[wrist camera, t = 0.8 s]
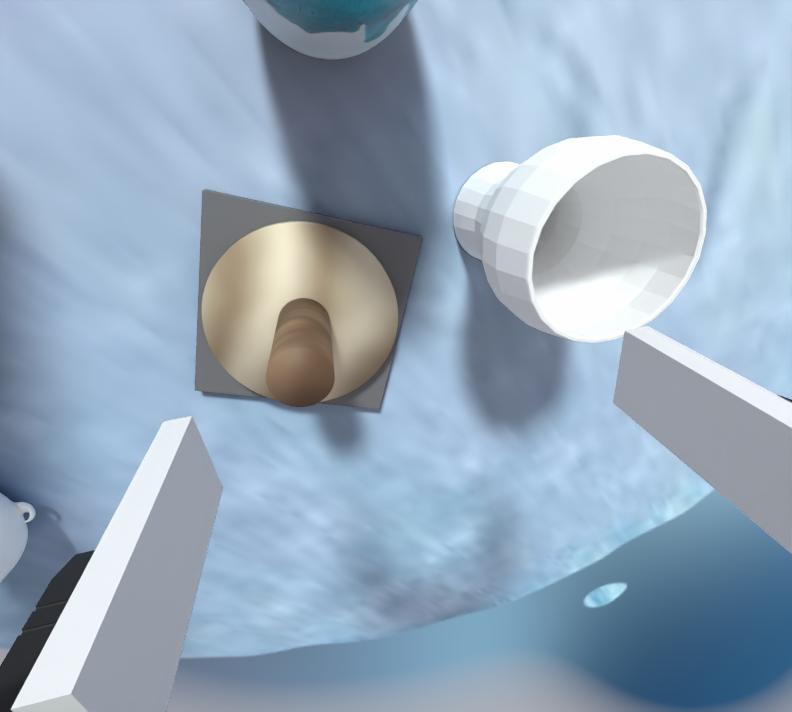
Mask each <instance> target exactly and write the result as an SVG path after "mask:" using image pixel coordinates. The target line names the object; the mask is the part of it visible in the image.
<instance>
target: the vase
mask: <svg viewBox="0 0 792 712" xmlns="http://www.w3.org/2000/svg"><path fill="white" fill-rule="evenodd" d="M243 1H244V3H245V4H246V5H247V7H248V8H249V9H250V11H251V12H252V13H253V15H254V16H255V17H256V18H257V19H258V21H259V22H260V23H261V24H262V25H263V26H264V27H265V28H266V29H267V30H268V31H269V32H270V33H271V34H272V35H274V36H275V37H276V38H277V39H279V40H280V41H281V42H283V43H284V44H285V45H287V46H289V47H290V48H292V49H294V50H296V51H298V52H299V53H302V54H305V55H308V56H310V57H313V58H319V59H325V60H340V59H345V58H350V57H354V56H357V55H359V54H361V53H364V52H366V51H368V50H369V49H371V48H372V47H374V46H375V45H377V44H378V43H380V42H381V41H383V40H384V39H385V38H386V37H387V36H388V35H389V34H390V33H391V32H392V31H393V30H394V29H395V28H396V27H397V26H398V25H399V24H400V23H401V22H402V21H403V20H404V18H405V17H406V16H407V14H408V13H409V12H410V10H411V9H412V8H413V6H414V5H415V3H416V2H417V1H418V0H243Z"/></svg>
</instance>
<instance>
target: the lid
mask: <svg viewBox="0 0 792 712" xmlns="http://www.w3.org/2000/svg"><path fill="white" fill-rule="evenodd" d="M202 322H203V328H204V332H205V335H206V338H207V341H208V344H209V346H210V348H211V350H212V352H213V354H214V355H215V357H216V358H217V360H218V361H219V363H220V364H221V365H222V366H223V368H224V369H225V370H226V371H227V372H228V373H229V374H230V375H231V376H232V377H233V378H235V379H236V380H237V381H238V382H240V383H241V384H243V385H244V386H245V387H247V388H249V389H250V390H252V391H254V392H256V393H258V394H261V395H263V396H266V397H268V398H271V399H275V400H279V401H280V402H282V403H284V404H287V405H290V406H295V407H306V406H311V405H314V404H316V403H318V402H322V401H327V400H331V399H334V398H338V397H340V396H343V395H345V394H347V393H349V392H351V391H353V390H355V389H356V388H358V387H360V386H361V385H362V384H364V383H365V382H366V381H368V380H369V379H370V378H371V377H372V376H373V375H374V374H375V373H376V372H377V371H378V370H379V368H380V367H381V366H382V365H383V363H384V361H385V360H386V358H387V357H388V355H389V353H390V351H391V349H392V346H393V343H394V340H395V337H396V332H397V327H398V306H397V300H396V296H395V291H394V289H393V286H392V284H391V281H390V279H389V277H388V275H387V274H386V272H385V270H384V268H383V266H382V265H381V264H380V262H379V261H378V260H377V258H376V257H375V256H374V255H373V254H372V252H371V251H370V250H369V249H368V248H367V247H366V246H364V245H363V244H362V243H360V242H359V241H358V240H357V239H355V238H354V237H352V236H350V235H349V234H347V233H345V232H343V231H341V230H339V229H336V228H334V227H331V226H328V225H324V224H321V223H315V222H308V221H287V222H279V223H274V224H271V225H267V226H264V227H261V228H259V229H257V230H254V231H252V232H250V233H249V234H247V235H245V236H244V237H242V238H241V239H239V240H238V241H237V242H236V243H234V244H233V245H232V246H231V247H230V248H229V249H228V250H227V251H226V252H225V253H224V255H223V256H222V257H221V258H220V259H219V260H218V262H217V263H216V265H215V266H214V268H213V270H212V271H211V273H210V276H209V278H208V280H207V282H206V286H205V289H204V293H203V299H202Z"/></svg>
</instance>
